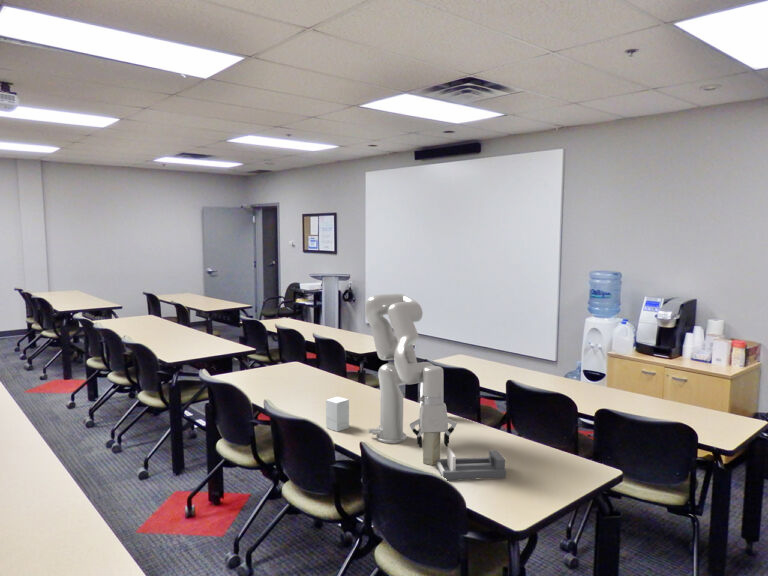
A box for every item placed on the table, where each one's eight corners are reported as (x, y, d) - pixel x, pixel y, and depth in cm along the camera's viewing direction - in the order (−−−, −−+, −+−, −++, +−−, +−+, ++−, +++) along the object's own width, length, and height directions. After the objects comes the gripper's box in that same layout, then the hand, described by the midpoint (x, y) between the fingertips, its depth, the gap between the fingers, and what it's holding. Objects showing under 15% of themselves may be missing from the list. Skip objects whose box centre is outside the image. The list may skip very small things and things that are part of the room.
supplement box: (349, 427, 225) (349, 399, 224) (336, 432, 219) (336, 403, 218) (338, 423, 230) (338, 395, 229) (325, 427, 224) (325, 399, 223)
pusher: (452, 474, 177) (452, 457, 176) (447, 464, 185) (447, 447, 184) (494, 472, 179) (495, 455, 178) (487, 463, 187) (488, 446, 186)
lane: (443, 480, 175) (443, 463, 175) (436, 466, 186) (437, 450, 186) (505, 478, 178) (506, 461, 177) (495, 464, 189) (496, 448, 188)
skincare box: (433, 466, 187) (433, 433, 186) (422, 463, 189) (422, 431, 188) (440, 460, 192) (441, 428, 191) (429, 457, 194) (430, 426, 193)
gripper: (411, 403, 184) (411, 450, 185) (458, 402, 186) (458, 448, 186) (408, 398, 191) (408, 443, 192) (453, 396, 193) (453, 441, 194)
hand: (433, 445), depth 189 cm, fingers open, 9 cm apart
